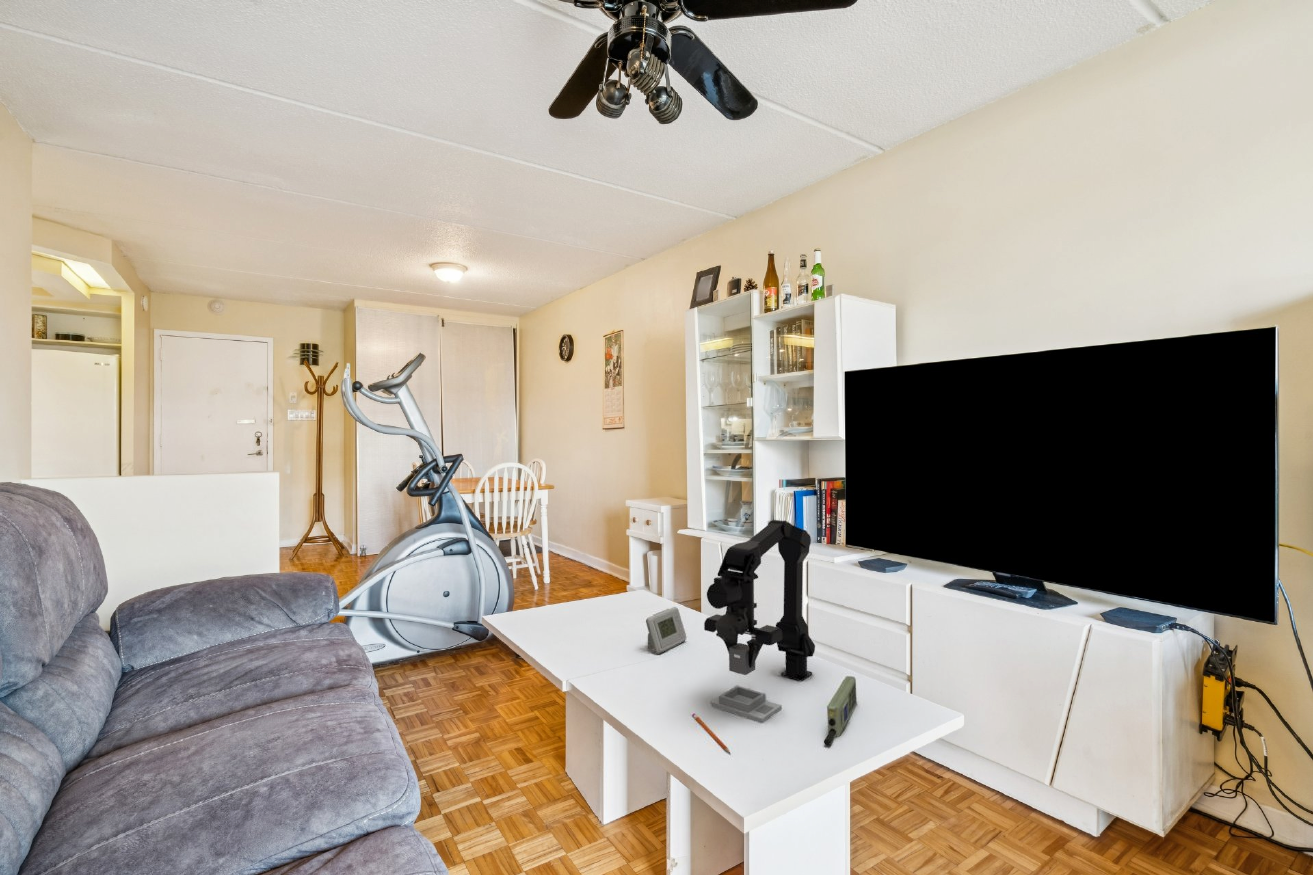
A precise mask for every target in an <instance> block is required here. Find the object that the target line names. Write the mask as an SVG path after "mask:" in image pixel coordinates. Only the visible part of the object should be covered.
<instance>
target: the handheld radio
mask: <svg viewBox="0 0 1313 875" xmlns="http://www.w3.org/2000/svg"><path fill="white" fill-rule="evenodd" d="M856 679H857V678H856V677H855V676H852V675H846V676H845V678H844V679H843V680H842V681H841V683H840V685H839V687H838V689H837V690H836V692H835V693H834V694H833V696H832V698H831V699H830V701H829V703H828V704H827V706H826V708H827V710H826V711H827V713H826V714H827V731H828V732H827V735H826V736H825V737H824V740H823V744H824V745H825V746H826V747H827V746H831V745H830V744H831V743H832V742H833V740H834V738H839V737H840V736H841V735H842V733H843V731H844V730H845V727H846V724H847V723H848V722H849V719H850V718H851V715H852V714H853V712H854V710H855V708H856V706H857V705H858V702H857V700H858V699H857V682H856ZM834 736H836V737H834Z"/></svg>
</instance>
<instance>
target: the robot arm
mask: <svg viewBox="0 0 1313 875" xmlns="http://www.w3.org/2000/svg"><path fill="white" fill-rule="evenodd" d="M811 542H812V538H811V535H810V534H809V533H808V530H806V529H802V528H801V527H797V526H795V525H793V524H791V523H790V522H789V521H787V520H779V519H772V520H770V521H769V522H768V524H767V525H766V526H765V527H764V528H762V529H761V530H760V531H759V532H757V533H755V535H754V536H752V537H751V538H750V539H749V540H747V541H743V542H740V543H739V542H738V543H735V544H733V545H731V546H729V547H728V549H726V552H725V554H724V556H723V559H722V562H721V563H720V567H719V570H718V572H717V577H714V578H713V583H712V584H710V586H708V589H707V591H706V598H707V601H708V603H709V604H710V606H711V607H712V608H714V609H717V610H721V609H723V608H725V609H726V611H725V614H723V615H721V614H717V613H716V614H714V615H712V616H710V617H707V618H706V619H705V620H704V622H703V626H704V627H703V628H704V629H703V630H704V631H707V632H709V633H710V632H711V633H715V632H716V633H715V635H716V637H718V638H720V639H721V640H722V642H724V644H725V647H726V649H727V653H728V654H729V648H730V647H732V646H734V645H736V644H738V643H739V642H738V640H739V639H738V638H739V635H741V636H743V635H749V636H751V638H750V639H749V640H747V641H746V645H748V646H749V667H750V668H752V667H753V666H754V663H755V664H756V660H757V658H758V656H759V654H760V651H761V650H762V647H763V645H765V646H773V645H775V644H776V646H777V651H779V652H782V653H783V652H784V653H785V666H784V667H785V669H784V670H783V671H781V672H780V676H783V677H786V678H790V679H794V680H795V681H801V682H802V681H804V680H806V679H807V678H809V677H810V676H811V675H813V672H812V671H810V670H808V658H811V657H813V656H814V654H815V650H816V644H815V643H814V641H813V640H812V638H811V637H810V634H809V626H808V624H807V622H806V620H805V618H804V617H803V582H804V581H803V578H804V577H803V576H804V572H803V570H804V568H803V567H804V566H803V565H804V561H805V560H806V558H807V556H808V554H810V546H811ZM775 545H777V549H778V553H779V555H781V558H782V560H783V564H784V566H783V615H782V617H781V618H780V620H778V621H777V622H776V623H775V626H773V625H769V624H766V625H764V626H761V627H755V626H756V625H758V620H757V619H755V609H756V608H757V606H758V605H757V604H758V603H757V602H755V583H754V582H755V580H756V579H758V578H759V575H758V574H757V573H756V572H755V571H756V570H757V569H758V568H759V566H760V565H761V564H762V556H764V555H765V554H766V553H767V552H769V550H771V549H772V548H773V547H775Z"/></svg>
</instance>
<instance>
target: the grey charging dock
mask: <svg viewBox="0 0 1313 875" xmlns="http://www.w3.org/2000/svg"><path fill="white" fill-rule="evenodd" d="M782 706H783V705H782V704H778V703H777V702H776V703H775V702H772V701H768V700H767V694H766V693H764V692H762V691H758V690H754V689H750V688H747V687H745V686H744V687H743V686H740V685H738V684H737V685H735V686H733V687H731V688H730V689H729V690H726V691H724V692H723V693H721V694H719V695H718V697H717V698H715V699H713V700H712V701H711V702H710V707H712V708H716V709H719V710H722V711H724V710H725V712H727V711H728V713H730V712H732V714H733V713H734V715H736V714H738V715H737V716H739V715H740V717H742V716H744V717H743V718H745V717H746V719H749V720H751V719H752V721H755V722H757V721H758V723H760V724H763V723H765V722H766V721H768V720H769V719H770V718H772V717H773V716H775V715H776V714H778V713H779V712H780V711H781V710H782V708H783V707H782ZM774 714H775V715H774ZM771 716H772V717H771Z"/></svg>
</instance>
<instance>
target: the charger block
mask: <svg viewBox="0 0 1313 875" xmlns="http://www.w3.org/2000/svg"><path fill="white" fill-rule="evenodd" d="M728 668H729V669H728V670H729V672H732V673H736V674H740V675H743V676H747V675H749V674H750V673H752V672H754V671H755V670H756V662H755V663H754V666H753V667H752V668H750V667H749V646H748V644H747V643H746V644H745V643H741V642H738V643H737V644H736V645H734V646H732V647H730V648H729V653H728Z"/></svg>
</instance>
